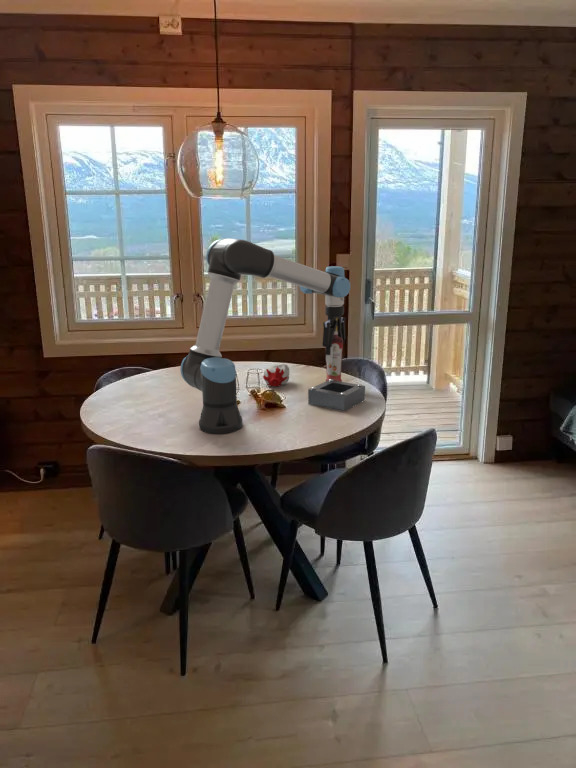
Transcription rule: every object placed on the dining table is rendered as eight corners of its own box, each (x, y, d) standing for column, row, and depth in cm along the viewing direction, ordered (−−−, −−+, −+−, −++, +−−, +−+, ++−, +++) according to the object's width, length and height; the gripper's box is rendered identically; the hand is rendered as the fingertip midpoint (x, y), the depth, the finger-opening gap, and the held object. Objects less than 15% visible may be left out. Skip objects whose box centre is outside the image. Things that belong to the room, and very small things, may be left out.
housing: (344, 411, 218) (344, 394, 216) (308, 404, 227) (308, 387, 225) (364, 400, 230) (365, 384, 228) (329, 393, 239) (330, 378, 237)
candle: (289, 379, 258) (289, 393, 244) (264, 379, 258) (262, 393, 244) (289, 360, 254) (288, 373, 241) (263, 360, 255) (261, 373, 241)
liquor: (325, 386, 243) (326, 319, 235) (324, 381, 250) (324, 316, 242) (343, 385, 243) (344, 319, 235) (341, 381, 250) (342, 315, 242)
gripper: (329, 309, 227) (329, 366, 234) (354, 302, 243) (353, 356, 249) (313, 308, 231) (313, 364, 238) (339, 301, 247) (338, 354, 254)
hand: (334, 360), depth 244 cm, fingers closed on liquor, 7 cm apart
